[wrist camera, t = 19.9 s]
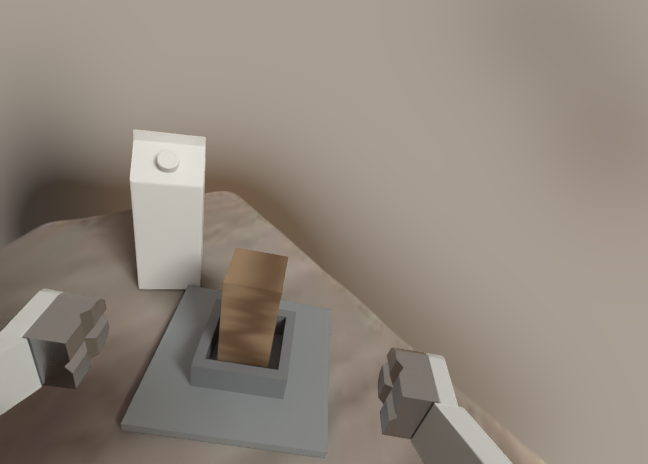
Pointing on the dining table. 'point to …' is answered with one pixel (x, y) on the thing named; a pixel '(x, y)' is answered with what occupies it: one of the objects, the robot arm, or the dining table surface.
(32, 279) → the dining table surface
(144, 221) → the milk carton
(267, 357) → the walnut block
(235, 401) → the socket base
